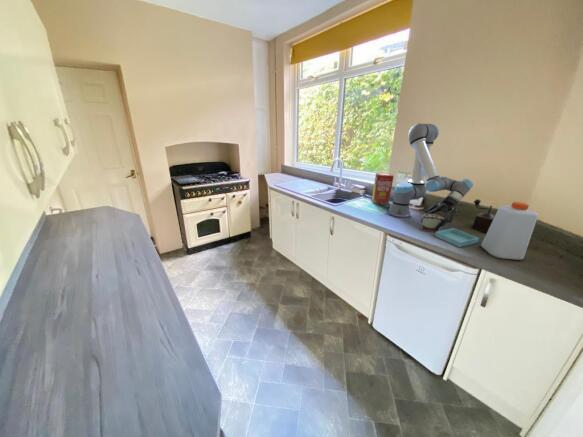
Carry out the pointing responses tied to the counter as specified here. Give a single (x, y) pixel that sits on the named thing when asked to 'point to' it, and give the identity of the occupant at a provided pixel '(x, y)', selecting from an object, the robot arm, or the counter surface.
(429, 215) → the food container
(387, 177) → the food packaging
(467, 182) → the robot arm
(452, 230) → the tray
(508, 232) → the plastic bottle
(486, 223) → the pepper mill
